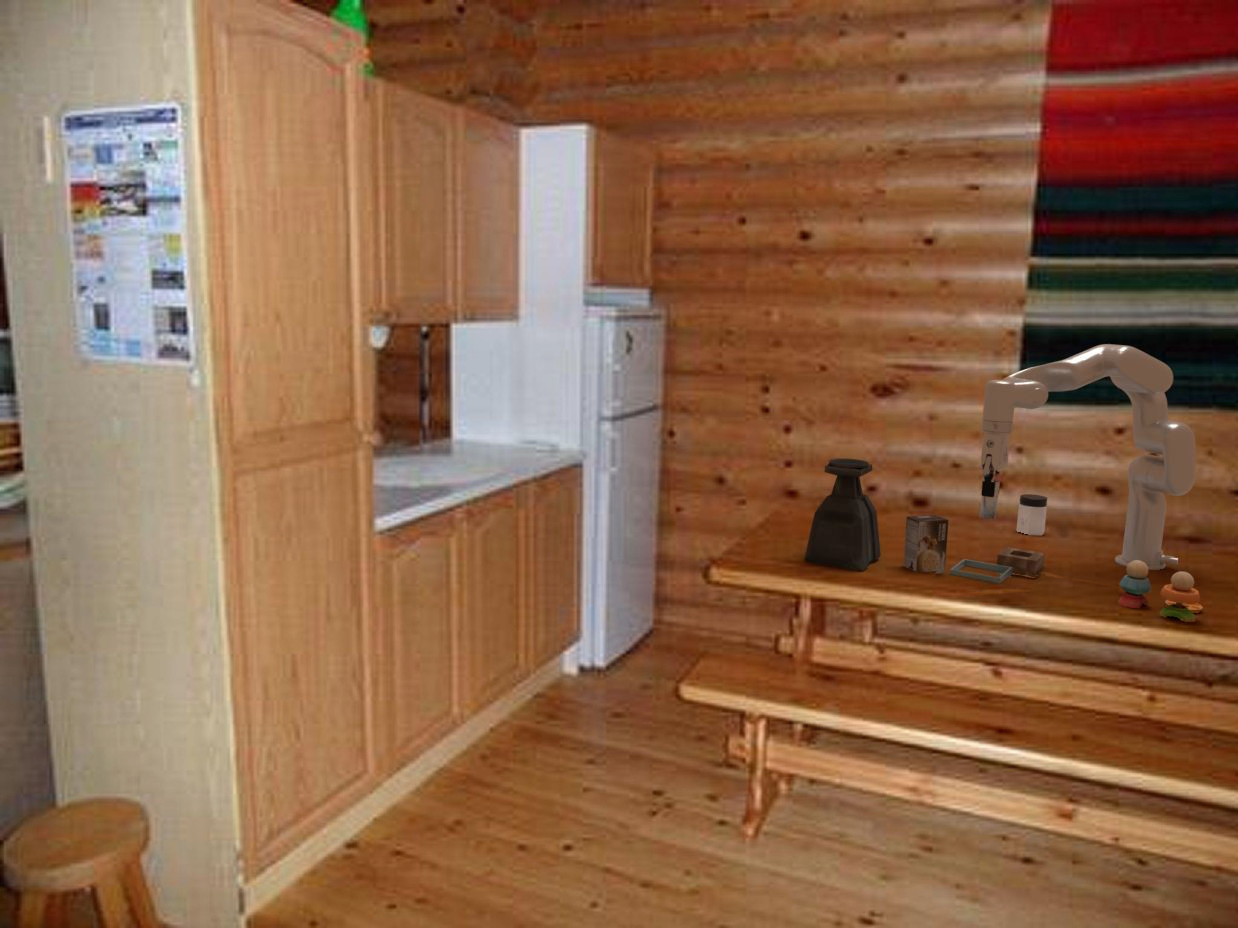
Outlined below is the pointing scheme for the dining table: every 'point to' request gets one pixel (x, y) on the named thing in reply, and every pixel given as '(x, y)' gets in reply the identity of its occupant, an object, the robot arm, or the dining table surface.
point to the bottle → (845, 521)
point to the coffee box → (926, 543)
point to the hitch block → (1021, 561)
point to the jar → (1032, 514)
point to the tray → (999, 569)
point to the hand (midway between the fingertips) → (990, 494)
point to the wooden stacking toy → (1174, 592)
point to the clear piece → (990, 501)
